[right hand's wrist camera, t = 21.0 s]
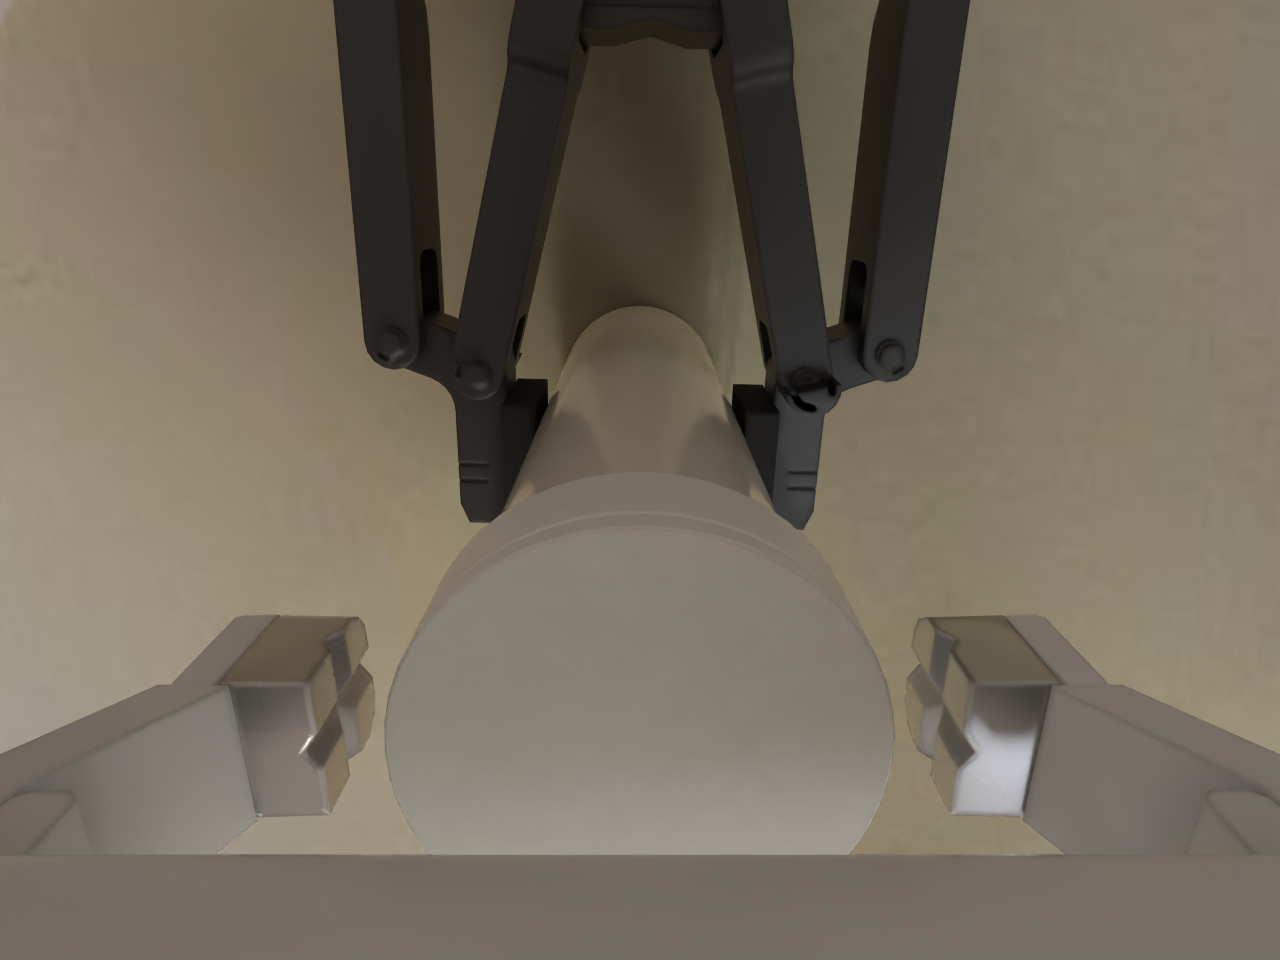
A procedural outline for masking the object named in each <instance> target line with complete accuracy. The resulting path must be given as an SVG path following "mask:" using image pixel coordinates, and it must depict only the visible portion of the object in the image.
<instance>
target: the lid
mask: <svg viewBox="0 0 1280 960" xmlns="http://www.w3.org/2000/svg"><path fill="white" fill-rule="evenodd" d="M893 747H894V721H893V708H892V704H891V699H890V695H889V690H888V686H887V682H886V679H885V677H884V674H883V672H882V669H881V667H880V664H879V662H878V659H877V657H876V654H875V652H874V650H873V649H872V647H871V645H870V643H869V641H868V639H867V637H866V635H865V633H864V631H863V629H862V627H861V625H860V623H859V621H858V619H857V617H856V615H855V613H854V611H853V609H852V607H851V605H850V603H849V601H848V599H847V597H846V596H845V594H844V592H843V590H842V588H841V586H840V584H839V582H838V581H837V579H836V577H835V576H834V574H833V572H832V571H831V569H830V567H829V566H828V564H827V562H826V561H825V560H824V559H823V557H822V556H821V555H820V554H819V552H818V551H817V550H816V549H815V548H814V546H813V545H812V544H811V543H810V541H809V540H807V539H806V538H805V537H804V536H803V535H802V534H801V533H800V532H799V531H798V530H797V529H796V528H794V527H793V526H792V525H791V524H790V523H789V522H788V521H786V520H785V519H783V518H782V517H780V516H779V515H778V514H776V513H775V512H773V511H772V510H770V509H769V508H768V507H766V506H765V505H763V504H761V503H759V502H757V501H755V500H753V499H751V498H749V497H747V496H745V495H743V494H741V493H739V492H737V491H734V490H731V489H729V488H726V487H723V486H720V485H717V484H715V483H712V482H709V481H705V480H700V479H695V478H691V477H686V476H682V475H676V474H665V473H654V472H627V473H612V474H605V475H599V476H592V477H586V478H582V479H579V480H575V481H572V482H568V483H565V484H561V485H558V486H555V487H552V488H550V489H548V490H545V491H543V492H541V493H538V494H536V495H534V496H531V497H529V498H527V499H525V500H524V501H522V502H520V503H519V504H517V505H515V506H514V507H512V508H510V509H508V510H507V511H505V512H503V513H502V514H501V515H499V516H498V517H497V518H496V519H494V520H493V521H492V522H491V523H489V524H488V525H487V526H486V527H484V528H483V529H482V530H481V531H479V532H478V533H477V535H476V536H475V537H474V538H473V539H472V540H471V541H470V542H469V543H468V544H467V545H466V546H465V547H464V548H463V549H462V550H461V551H460V553H459V554H458V556H457V557H456V559H455V560H454V561H453V563H452V564H451V566H450V567H449V568H448V570H447V571H446V573H445V574H444V576H443V578H442V580H441V582H440V584H439V586H438V588H437V590H436V592H435V594H434V596H433V598H432V600H431V602H430V604H429V606H428V608H427V610H426V612H425V614H424V616H423V618H422V620H421V622H420V624H419V626H418V628H417V630H416V632H415V634H414V636H413V638H412V639H411V641H410V643H409V645H408V647H407V649H406V651H405V653H404V655H403V657H402V659H401V661H400V663H399V665H398V667H397V670H396V673H395V677H394V680H393V683H392V686H391V689H390V692H389V696H388V703H387V710H386V717H385V754H386V759H387V765H388V771H389V776H390V781H391V784H392V787H393V789H394V792H395V795H396V798H397V801H398V804H399V806H400V808H401V810H402V812H403V814H404V816H405V818H406V820H407V822H408V824H409V826H410V828H411V830H412V831H413V832H414V834H415V835H416V837H417V838H418V839H419V841H420V842H421V844H422V845H423V847H424V848H425V849H426V851H427V852H428V853H429V854H430V855H849V853H850V852H851V851H852V850H853V849H854V847H855V846H856V845H857V844H858V842H859V841H860V840H861V838H862V836H863V835H864V833H865V831H866V830H867V828H868V826H869V825H870V823H871V822H872V820H873V818H874V816H875V814H876V812H877V809H878V807H879V805H880V802H881V800H882V798H883V795H884V793H885V789H886V786H887V782H888V778H889V774H890V770H891V766H892V758H893Z"/></svg>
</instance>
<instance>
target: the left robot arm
mask: <svg viewBox="0 0 1280 960" xmlns="http://www.w3.org/2000/svg"><path fill="white" fill-rule="evenodd" d="M333 3H334V14H335V24H336V35H337V46H338V57H339V68H340V79H341V90H342V101H343V112H344V123H345V134H346V145H347V156H348V167H349V178H350V189H351V200H352V211H353V222H354V233H355V244H356V255H357V265H358V276H359V287H360V298H361V309H362V320H363V331H364V342H365V345H366V349H367V352H368V354H369V355H370V356H371V358H372V359H373V360H374V361H375V362H376V363H378V364H379V365H381V366H382V367H384V368H389V369H393V370H395V369H401V368H406V369H409V370H411V371H414V372H417V373H419V374H422V375H425V376H427V377H430V378H432V379H434V380H436V381H438V382H439V383H441V384H442V385H443V386H444V387H445V388H446V389H447V390H448V391H449V393H450V394H451V396H452V398H453V401H454V404H455V409H456V425H457V443H458V461H459V479H460V497H461V504H462V507H463V509H464V511H465V513H466V515H467V517H468V519H469V521H470V522H478V523H491V522H492V521H493V520H494V519H496V518H497V517H498V516H499V515H501V514H502V512H503V509H504V507H505V505H506V502H507V500H508V498H509V495H510V493H511V491H512V488H513V486H514V483H515V481H516V479H517V476H518V474H519V472H520V469H521V467H522V465H523V462H524V460H525V458H526V455H527V453H528V451H529V448H530V446H531V444H532V441H533V439H534V436H535V434H536V432H537V429H538V427H539V425H540V422H541V420H542V418H543V415H544V413H545V411H546V408H547V406H548V379H518V380H517V381H516V364H517V363H518V361H519V359H520V357H521V355H522V353H520V348H521V344H522V339H523V335H524V330H525V326H526V321H527V317H528V312H529V308H530V304H531V299H532V295H533V290H534V286H535V281H536V277H537V272H538V268H539V264H540V259H541V255H542V250H543V246H544V241H545V237H546V232H547V228H548V224H549V219H550V215H551V210H552V206H553V201H554V197H555V192H556V188H557V183H558V179H559V175H560V170H561V166H562V161H563V157H564V152H565V148H566V143H567V139H568V135H569V130H570V126H571V121H572V117H573V112H574V108H575V104H576V100H577V96H578V94H579V91H580V88H581V85H582V81H583V77H584V73H585V69H586V64H587V60H588V55H589V51H590V46H617V45H621V44H624V43H628V42H632V41H635V40H639V39H643V38H646V37H653V38H656V39H659V40H662V41H665V42H668V43H671V44H674V45H677V46H680V47H683V48H686V49H709V55H710V60H711V66H712V72H713V78H714V83H715V88H716V92H717V95H718V98H719V102H720V106H721V111H722V117H723V123H724V129H725V135H726V141H727V147H728V153H729V159H730V165H731V171H732V177H733V183H734V189H735V195H736V201H737V207H738V213H739V219H740V225H741V231H742V237H743V243H744V249H745V255H746V261H747V267H748V273H749V279H750V285H751V291H752V297H753V303H754V309H755V315H756V321H757V327H758V333H759V339H760V345H761V351H762V357H763V363H764V367H765V370H766V378H765V388H764V387H763V385H747V384H733V394H732V410H733V412H734V414H735V417H736V419H737V422H738V424H739V426H740V429H741V431H742V433H743V436H744V438H745V440H746V443H747V445H748V447H749V450H750V452H751V454H752V457H753V459H754V461H755V464H756V466H757V469H758V471H759V473H760V476H761V478H762V480H763V483H764V485H765V487H766V490H767V492H768V494H769V497H770V499H771V501H772V504H773V506H774V508H775V511H776V513H777V514H778V515H779V516H780V517H782V518H783V519H785V520H786V521H788V522H789V523H790V524H791V525H792V526H793V527H794V528H796V529H797V530H803V529H804V527H805V525H806V524H807V522H808V520H809V518H810V516H811V515H812V513H813V510H814V501H815V492H816V490H815V488H816V483H817V471H818V465H819V456H820V448H821V439H822V430H823V421H824V416H825V414H826V413H828V412H829V411H830V410H831V409H832V408H834V407H835V406H836V404H837V402H838V400H839V398H840V396H841V392H843V391H845V390H848V389H850V388H853V387H856V386H859V385H862V384H865V383H869V382H872V381H875V380H879V381H884V382H891V381H897V380H899V379H901V378H902V377H904V376H906V375H907V374H908V373H909V372H910V371H911V369H912V368H913V367H914V365H915V362H916V359H917V356H918V350H919V343H920V337H921V330H922V323H923V316H924V310H925V303H926V296H927V289H928V282H929V276H930V269H931V262H932V255H933V248H934V242H935V235H936V228H937V221H938V214H939V208H940V201H941V194H942V187H943V181H944V174H945V167H946V160H947V153H948V147H949V140H950V133H951V126H952V119H953V113H954V106H955V99H956V92H957V86H958V79H959V72H960V65H961V58H962V52H963V45H964V38H965V31H966V24H967V18H968V11H969V4H970V0H879V4H878V8H877V12H876V15H875V19H874V23H873V29H872V35H871V41H870V47H869V56H868V65H867V74H866V83H865V92H864V101H863V110H862V119H861V128H860V137H859V146H858V155H857V164H856V173H855V182H854V191H853V200H852V209H851V218H850V228H849V237H848V246H847V255H846V264H845V273H844V282H843V291H842V300H841V309H840V318H839V324H837V325H834V326H831V327H827V326H826V319H825V311H824V304H823V297H822V289H821V282H820V275H819V268H818V260H817V253H816V246H815V238H814V231H813V224H812V216H811V209H810V202H809V194H808V187H807V180H806V172H805V165H804V158H803V150H802V143H801V136H800V128H799V121H798V114H797V106H796V99H795V92H794V84H793V62H794V48H793V38H792V30H791V23H790V15H789V8H788V0H515V6H514V11H513V16H512V21H511V26H510V32H509V38H508V48H507V60H508V63H507V72H506V78H505V83H504V88H503V93H502V98H501V103H500V108H499V113H498V119H497V124H496V129H495V134H494V139H493V144H492V149H491V155H490V160H489V165H488V170H487V175H486V180H485V185H484V190H483V196H482V201H481V206H480V211H479V216H478V221H477V226H476V232H475V237H474V242H473V247H472V252H471V257H470V262H469V267H468V273H467V278H466V283H465V288H464V293H463V298H462V303H461V309H460V314H459V319H458V318H455V317H453V316H450V315H448V314H445V313H444V297H443V279H442V261H441V243H440V225H439V207H438V189H437V171H436V153H435V134H434V116H433V98H432V80H431V62H430V44H429V30H428V20H427V11H426V5H425V1H424V0H333Z"/></svg>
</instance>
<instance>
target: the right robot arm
mask: <svg viewBox="0 0 1280 960" xmlns="http://www.w3.org/2000/svg"><path fill="white" fill-rule="evenodd" d="M367 649H368V641H367V636H366V630H365V625H364V623H363V622H362V621H361V619H360V618H359V617H342V616H289V615H284V616H280V615H245V616H239V617H236V618H235V619H234V620H233V621H232V622H231V623H230V624H229V625H228V626H227V627H226V628H225V629H224V630H223V631H222V632H221V633H220V634H219V635H218V636H217V637H216V638H215V639H214V640H213V641H212V642H211V644H210V645H209V646H208V647H207V648H206V649H205V650H204V651H203V652H202V653H201V654H200V655H199V656H198V657H197V658H196V659H195V660H194V661H193V662H192V663H191V664H190V665H189V666H188V667H187V668H186V669H185V671H184V672H183V673H182V674H181V675H180V676H179V677H178V678H177V679H176V680H175V681H174V682H173V683H172V684H171V685H157V686H154V687H152V688H150V689H147V690H145V691H143V692H141V693H138V694H136V695H134V696H132V697H129V698H127V699H125V700H123V701H120V702H118V703H116V704H113V705H111V706H109V707H107V708H104V709H102V710H100V711H98V712H95V713H93V714H91V715H89V716H86V717H84V718H82V719H80V720H77V721H75V722H73V723H70V724H68V725H66V726H64V727H61V728H59V729H57V730H55V731H52V732H50V733H48V734H46V735H43V736H41V737H39V738H36V739H34V740H32V741H30V742H27V743H25V744H23V745H21V746H18V747H16V748H14V749H12V750H9V751H7V752H5V753H2V754H0V960H1280V755H1279V754H1277V753H1275V752H1273V751H1270V750H1268V749H1266V748H1264V747H1261V746H1259V745H1257V744H1255V743H1252V742H1250V741H1248V740H1246V739H1243V738H1241V737H1239V736H1237V735H1234V734H1232V733H1230V732H1228V731H1225V730H1223V729H1221V728H1218V727H1216V726H1214V725H1212V724H1209V723H1207V722H1205V721H1203V720H1200V719H1198V718H1196V717H1194V716H1191V715H1189V714H1187V713H1185V712H1182V711H1180V710H1178V709H1176V708H1173V707H1171V706H1169V705H1166V704H1164V703H1162V702H1160V701H1157V700H1155V699H1153V698H1151V697H1148V696H1146V695H1144V694H1142V693H1139V692H1137V691H1135V690H1133V689H1130V688H1128V687H1126V686H1124V685H1109V684H1108V683H1107V682H1106V681H1105V680H1104V679H1103V678H1102V677H1101V676H1100V675H1099V673H1098V672H1097V671H1096V670H1095V669H1094V668H1093V667H1092V666H1091V665H1090V664H1089V663H1088V662H1087V661H1086V660H1085V659H1084V658H1083V657H1082V656H1081V655H1080V654H1079V653H1078V652H1077V651H1076V650H1075V648H1074V647H1073V646H1072V645H1071V644H1070V643H1069V642H1068V641H1067V640H1066V639H1065V638H1064V637H1063V636H1062V635H1061V634H1060V633H1059V632H1058V631H1057V630H1056V629H1055V628H1054V627H1053V626H1052V625H1051V623H1050V622H1049V621H1048V620H1047V619H1046V618H1044V617H1041V616H1039V615H1036V614H1034V615H1010V616H1003V615H1002V616H961V617H926V618H919V619H918V622H917V624H916V627H915V629H914V635H913V641H912V649H913V651H914V652H915V654H916V656H917V657H918V659H919V661H920V664H919V665H918V666H917V667H916V668H915V669H914V671H913V672H912V673H911V674H910V675H909V676H908V677H907V686H906V696H905V704H906V716H907V723H908V727H909V730H910V734H911V737H912V739H913V741H914V743H915V745H916V747H917V750H918V751H920V752H921V753H923V754H924V755H926V756H927V757H929V758H930V759H932V767H931V774H930V776H931V778H932V780H933V782H934V784H935V786H936V788H937V790H938V792H939V794H940V796H941V797H942V799H943V801H944V803H945V805H946V807H947V809H948V811H949V813H950V815H963V816H1000V817H1023V821H1024V822H1026V823H1027V824H1028V825H1029V826H1031V827H1032V828H1033V829H1034V830H1036V831H1037V832H1038V833H1039V834H1041V835H1042V836H1043V837H1044V838H1046V839H1047V840H1048V841H1049V842H1051V843H1052V844H1053V845H1054V846H1056V847H1057V848H1058V849H1059V850H1061V851H1062V852H1063V853H1064V854H1066V855H215V854H216V853H217V852H219V851H220V850H221V849H222V848H224V847H225V846H226V845H227V844H229V843H230V842H231V841H232V840H234V839H235V838H236V837H237V836H239V835H240V834H241V833H242V832H244V831H245V830H246V829H247V828H249V827H250V826H251V825H252V824H254V823H255V822H256V821H257V817H279V816H315V815H330V814H331V812H332V810H333V808H334V806H335V804H336V802H337V800H338V798H339V796H340V794H341V792H342V790H343V788H344V786H345V784H346V782H347V780H348V778H349V776H350V773H349V766H348V759H350V758H351V757H353V756H354V755H356V754H357V753H359V752H360V751H362V750H363V748H364V745H365V743H366V741H367V739H368V737H369V735H370V731H371V726H372V721H373V716H374V707H375V692H374V684H373V677H372V676H371V675H370V674H369V673H368V672H367V670H366V669H365V668H364V667H363V666H362V665H361V664H360V661H361V659H362V658H363V656H364V654H365V652H366V651H367Z"/></svg>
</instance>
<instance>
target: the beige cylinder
mask: <svg viewBox="0 0 1280 960" xmlns="http://www.w3.org/2000/svg"><path fill="white" fill-rule="evenodd" d="M627 472H654V473H665V474H676V475H682V476H686V477H691V478H695V479H700V480H705V481H709V482H712V483H715V484H717V485H720V486H723V487H726V488H729V489H731V490H734V491H737V492H739V493H741V494H743V495H745V496H747V497H749V498H751V499H753V500H755V501H757V502H759V503H761V504H763V505H765V506H766V507H768V508H769V509H770V510H772V511H773V512H775V513H776V511H775V508H774V506H773V504H772V501H771V499H770V497H769V494H768V492H767V490H766V487H765V485H764V483H763V480H762V478H761V476H760V473H759V471H758V469H757V466H756V464H755V461H754V459H753V457H752V454H751V452H750V450H749V447H748V445H747V443H746V440H745V438H744V436H743V433H742V431H741V429H740V426H739V424H738V422H737V419H736V417H735V414H734V412H733V410H732V407H731V405H730V403H729V400H728V398H727V396H726V393H725V391H724V389H723V386H722V384H721V382H720V379H719V377H718V375H717V372H716V370H715V368H714V365H713V363H712V360H711V358H710V356H709V353H708V351H707V349H706V346H705V345H704V343H703V341H702V340H701V338H700V337H699V335H698V334H697V333H696V332H695V330H694V329H693V328H692V327H691V326H690V325H689V324H688V323H686V322H685V321H683V320H682V319H681V318H679V317H678V316H676V315H674V314H672V313H670V312H667V311H665V310H662V309H658V308H654V307H648V306H630V307H624V308H620V309H617V310H613V311H611V312H609V313H607V314H604V315H603V316H601V317H599V318H598V319H596V320H595V321H594V322H592V323H591V324H590V325H589V326H588V327H587V328H586V329H585V330H584V331H583V332H582V333H581V335H580V336H579V337H578V339H577V340H576V342H575V344H574V346H573V348H572V350H571V352H570V354H569V357H568V359H567V361H566V364H565V366H564V368H563V371H562V373H561V375H560V378H559V380H558V382H557V385H556V387H555V389H554V392H553V394H552V397H551V399H550V401H549V404H548V406H547V408H546V411H545V413H544V415H543V418H542V420H541V422H540V425H539V427H538V429H537V432H536V434H535V436H534V439H533V441H532V444H531V446H530V448H529V451H528V453H527V455H526V458H525V460H524V462H523V465H522V467H521V469H520V472H519V474H518V476H517V479H516V481H515V483H514V486H513V488H512V491H511V493H510V495H509V498H508V500H507V502H506V505H505V507H504V509H503V512H505V511H507V510H508V509H510V508H512V507H514V506H515V505H517V504H519V503H520V502H522V501H524V500H525V499H527V498H529V497H531V496H534V495H536V494H538V493H541V492H543V491H545V490H548V489H550V488H552V487H555V486H558V485H561V484H565V483H568V482H572V481H575V480H579V479H582V478H586V477H592V476H599V475H605V474H612V473H627ZM503 512H502V513H503ZM776 514H777V513H776Z"/></svg>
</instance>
